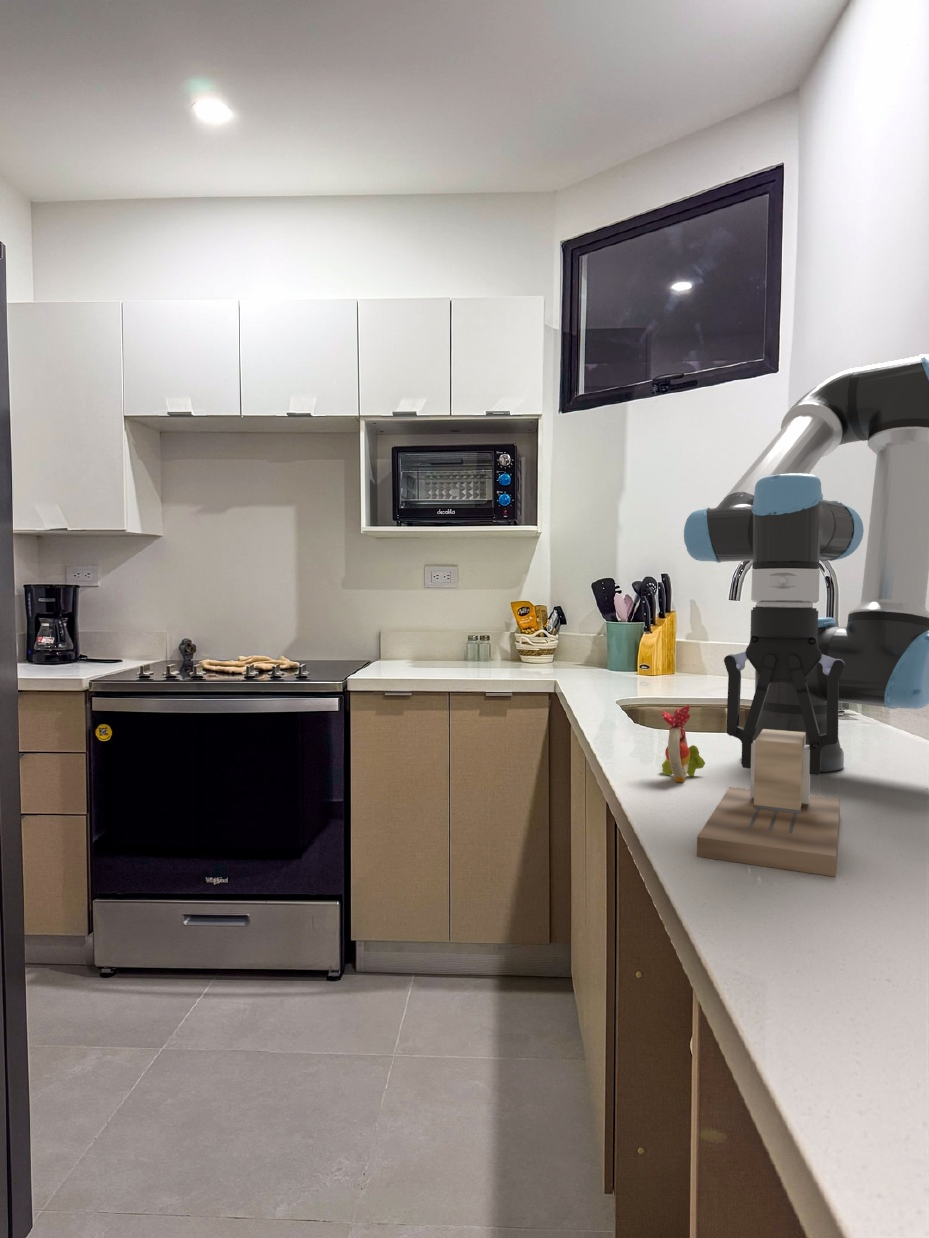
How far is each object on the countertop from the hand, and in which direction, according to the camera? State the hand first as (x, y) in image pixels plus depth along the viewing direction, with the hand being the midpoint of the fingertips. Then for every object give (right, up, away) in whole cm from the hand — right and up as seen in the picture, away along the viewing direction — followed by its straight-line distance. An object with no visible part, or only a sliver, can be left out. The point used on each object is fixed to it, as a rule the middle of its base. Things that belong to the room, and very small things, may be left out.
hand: (779, 797), depth 97 cm
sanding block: (0, -1, 0) cm, 1 cm away
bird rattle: (-6, -2, +21) cm, 22 cm away
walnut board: (-3, -3, -6) cm, 7 cm away
